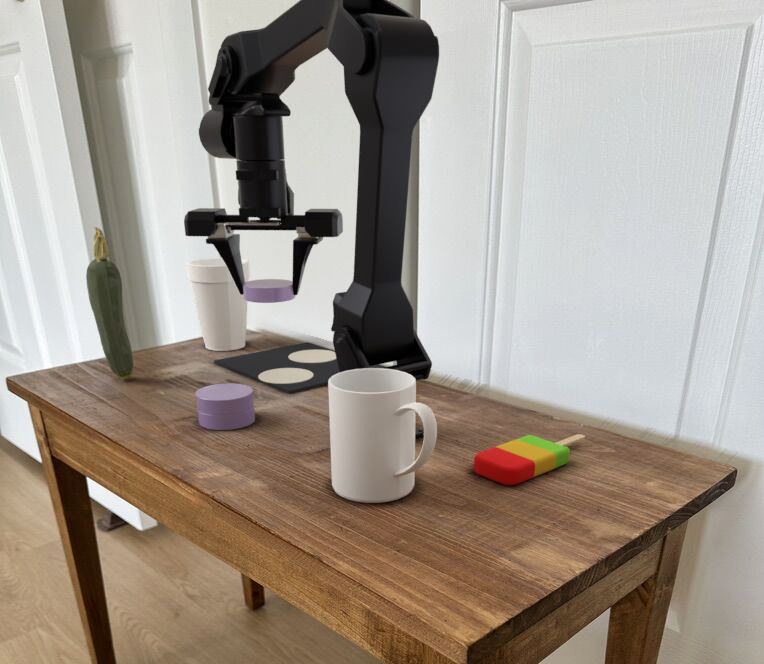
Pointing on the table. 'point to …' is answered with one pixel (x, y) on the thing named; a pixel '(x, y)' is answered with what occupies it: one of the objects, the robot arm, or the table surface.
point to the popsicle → (523, 459)
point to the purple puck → (224, 399)
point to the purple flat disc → (226, 420)
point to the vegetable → (109, 308)
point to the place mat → (288, 366)
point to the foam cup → (218, 303)
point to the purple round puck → (268, 290)
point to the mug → (376, 434)
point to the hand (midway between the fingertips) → (269, 294)
